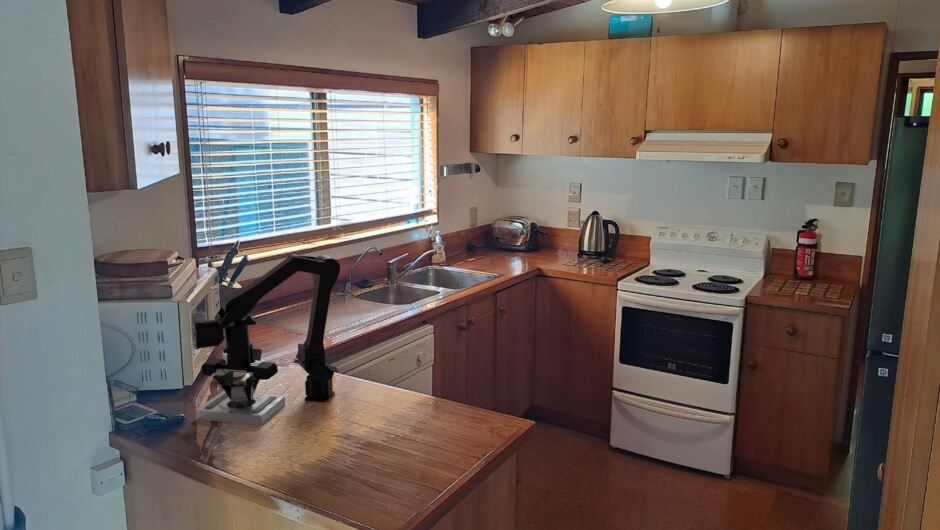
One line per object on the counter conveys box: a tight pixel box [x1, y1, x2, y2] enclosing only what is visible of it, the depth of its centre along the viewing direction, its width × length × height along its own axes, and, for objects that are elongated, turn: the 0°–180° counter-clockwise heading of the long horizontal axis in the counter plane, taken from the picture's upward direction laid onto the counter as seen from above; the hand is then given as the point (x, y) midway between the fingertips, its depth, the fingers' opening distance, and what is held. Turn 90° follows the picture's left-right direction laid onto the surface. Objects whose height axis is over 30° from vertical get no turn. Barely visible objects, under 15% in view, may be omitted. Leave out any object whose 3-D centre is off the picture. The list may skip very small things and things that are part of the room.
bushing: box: [230, 380, 252, 409], centre depth 176 cm, size 5×5×6 cm
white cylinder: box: [222, 351, 247, 378], centre depth 203 cm, size 7×7×7 cm
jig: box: [195, 390, 286, 426], centre depth 176 cm, size 18×13×3 cm
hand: (241, 399), depth 176 cm, fingers closed on bushing, 5 cm apart
